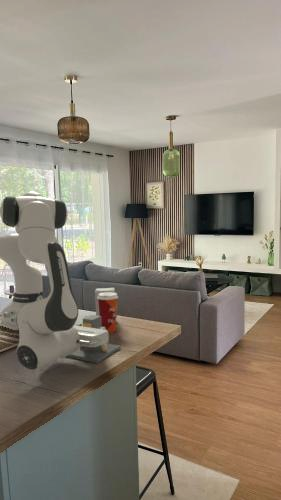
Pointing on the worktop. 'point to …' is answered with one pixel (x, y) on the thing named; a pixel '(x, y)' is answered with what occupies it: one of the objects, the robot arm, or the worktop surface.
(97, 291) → the skincare box
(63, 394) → the worktop surface
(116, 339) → the worktop surface
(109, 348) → the slate board
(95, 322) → the plug block
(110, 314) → the coffee cup
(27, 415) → the worktop surface
